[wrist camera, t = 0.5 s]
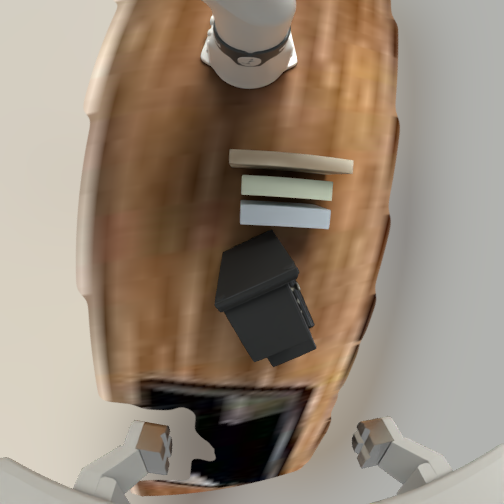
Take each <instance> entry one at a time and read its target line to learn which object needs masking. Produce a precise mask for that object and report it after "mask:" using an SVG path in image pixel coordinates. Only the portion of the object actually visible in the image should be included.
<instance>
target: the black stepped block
mask: <svg viewBox="0 0 504 504" xmlns="http://www.w3.org/2000/svg"><path fill="white" fill-rule="evenodd" d="M298 274H299V270H298V268H297V267H296V266H295V263H294V261H293V260H292V259H291V257H290V256H289V254H288V253H287V251H286V250H285V248H284V247H283V245H282V244H281V242H280V241H279V239H278V238H277V236H276V235H275V233H274V232H273V230H269V231H267V232H265V233H263V234H260V235H259V236H256V237H254V238H251V239H250V240H248V241H246V242H243V243H242V244H239V245H237V246H234V247H233V248H231V249H229V250H227V251H225V252H223V255H222V261H221V267H220V273H219V279H218V285H217V291H216V297H215V304H214V305H215V307H216V308H217V309H218V310H219V311H220V312H223V311H224V313H225V314H226V316H227V318H228V320H229V321H230V323H231V325H232V327H233V328H234V330H235V332H236V333H237V335H238V337H239V338H240V340H241V342H242V344H243V345H244V347H245V349H246V350H247V352H248V353H249V355H250V357H251V358H252V360H253V361H254V362H256V361H259V360H262V359H264V358H268V360H269V361H270V363H271V365H272V366H273V367H275V366H277V365H280V364H282V363H285V362H287V361H289V360H292V359H294V358H296V357H299V356H301V355H303V354H306V353H308V352H310V351H312V350H315V349H316V345H315V343H314V340H313V338H312V336H311V333H310V331H309V328H311V327H313V326H314V322H313V320H312V318H311V315H310V313H309V311H308V308H307V306H306V304H305V301H304V299H303V296H302V294H301V292H300V287H299V284H298V283H297V282H296V279H297V277H298Z"/></svg>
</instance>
